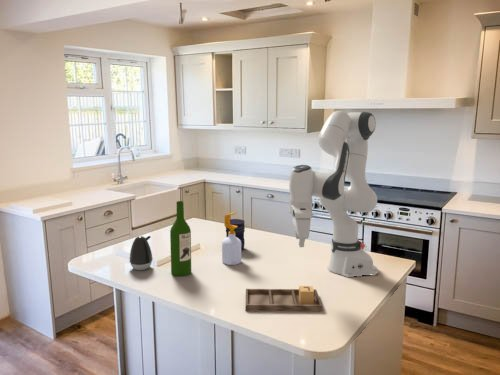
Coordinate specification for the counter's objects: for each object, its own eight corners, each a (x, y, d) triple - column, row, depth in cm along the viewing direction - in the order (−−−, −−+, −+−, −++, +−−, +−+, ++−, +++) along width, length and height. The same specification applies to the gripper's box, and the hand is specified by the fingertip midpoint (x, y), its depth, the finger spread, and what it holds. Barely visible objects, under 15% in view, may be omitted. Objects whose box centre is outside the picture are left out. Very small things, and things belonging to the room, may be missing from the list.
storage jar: (248, 248, 221) (248, 220, 218) (237, 253, 213) (237, 225, 210) (232, 244, 226) (232, 218, 223) (221, 249, 218) (221, 222, 215)
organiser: (315, 294, 167) (316, 289, 166) (321, 311, 153) (322, 305, 152) (245, 293, 166) (245, 288, 166) (245, 310, 153) (245, 304, 152)
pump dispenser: (157, 268, 192) (156, 236, 189) (137, 274, 185) (136, 241, 182) (145, 262, 199) (144, 231, 196) (125, 268, 191) (124, 236, 189)
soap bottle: (234, 266, 195) (234, 215, 190) (218, 262, 199) (218, 212, 195) (244, 261, 202) (245, 211, 198) (229, 257, 207) (229, 209, 202)
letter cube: (311, 298, 162) (312, 285, 161) (313, 304, 157) (314, 291, 156) (298, 297, 162) (299, 285, 161) (300, 303, 157) (300, 291, 156)
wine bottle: (179, 278, 181) (178, 205, 175) (167, 272, 187) (165, 201, 181) (195, 272, 187) (194, 201, 181) (182, 267, 193) (181, 198, 187)
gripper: (289, 201, 170) (288, 233, 173) (295, 215, 150) (294, 251, 153) (304, 201, 170) (303, 233, 173) (313, 215, 150) (312, 251, 153)
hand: (299, 242), depth 162 cm, fingers open, 8 cm apart
